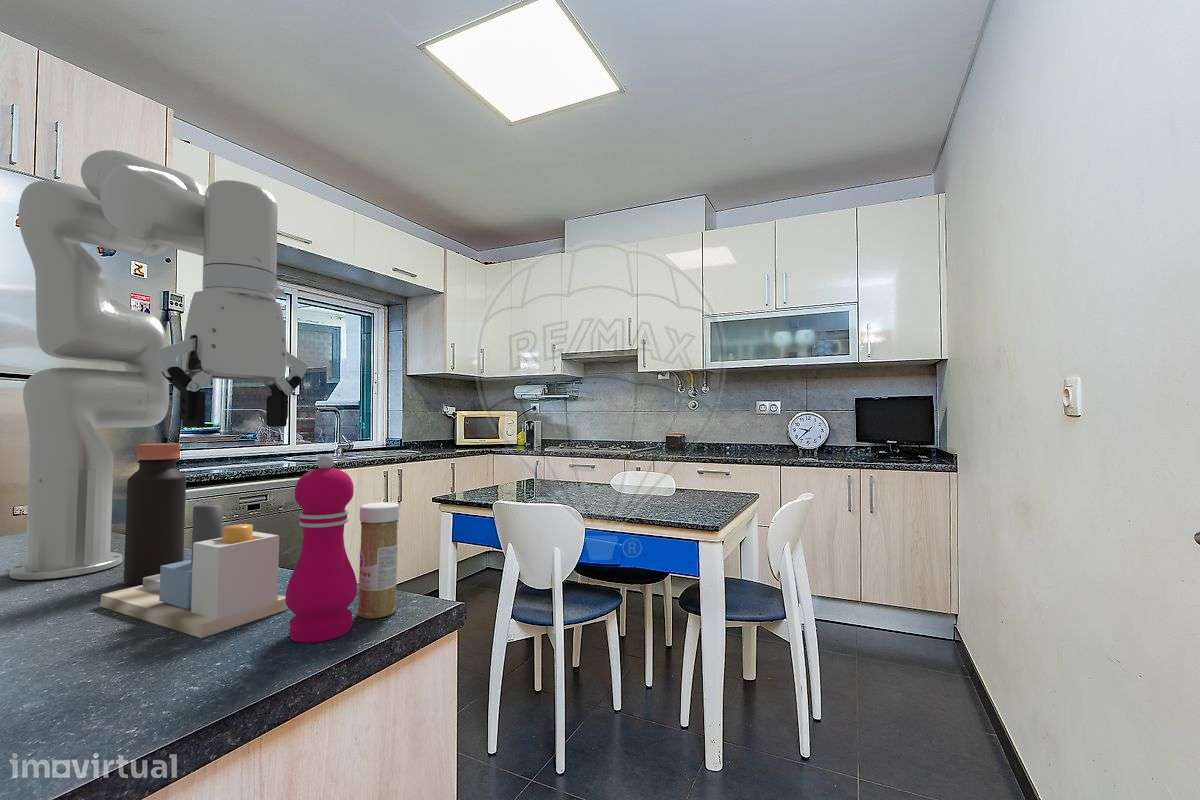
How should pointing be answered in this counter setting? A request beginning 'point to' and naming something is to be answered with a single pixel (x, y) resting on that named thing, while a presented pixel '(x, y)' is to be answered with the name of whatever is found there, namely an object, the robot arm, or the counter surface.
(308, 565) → the pepper mill
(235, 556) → the white box holder
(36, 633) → the counter surface
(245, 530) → the plunger
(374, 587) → the sprinkles bottle
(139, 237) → the robot arm
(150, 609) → the rail base
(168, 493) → the vinegar
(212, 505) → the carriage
